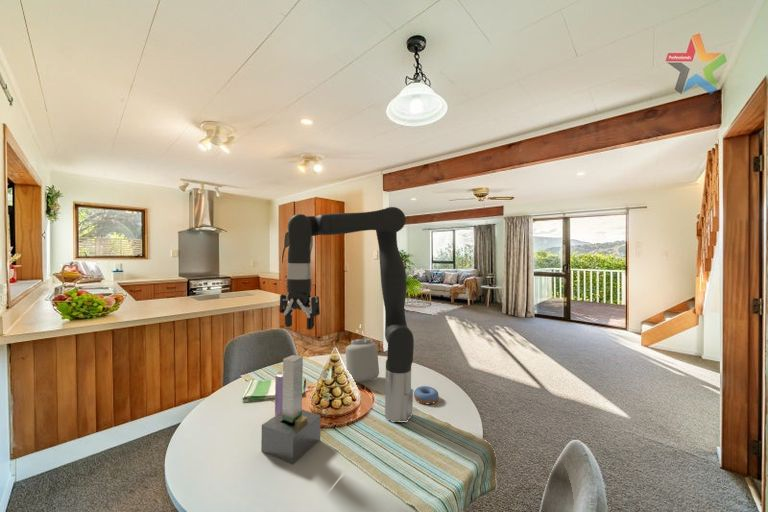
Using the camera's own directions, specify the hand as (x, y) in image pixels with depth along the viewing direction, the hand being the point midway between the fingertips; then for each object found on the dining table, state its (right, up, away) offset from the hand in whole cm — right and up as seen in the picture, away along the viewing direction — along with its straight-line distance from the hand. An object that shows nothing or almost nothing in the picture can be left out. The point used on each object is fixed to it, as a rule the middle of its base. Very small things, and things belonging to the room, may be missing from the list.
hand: (299, 327), depth 94 cm
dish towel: (-19, -35, +31) cm, 50 cm away
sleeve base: (-1, -34, -6) cm, 35 cm away
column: (0, -26, -6) cm, 26 cm away
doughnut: (+44, -36, +25) cm, 62 cm away
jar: (+17, -35, +43) cm, 58 cm away
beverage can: (-9, -34, +12) cm, 37 cm away
